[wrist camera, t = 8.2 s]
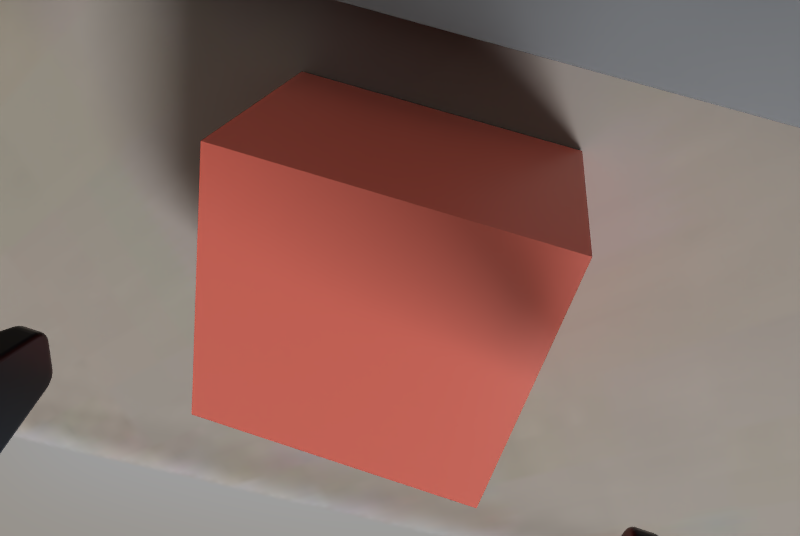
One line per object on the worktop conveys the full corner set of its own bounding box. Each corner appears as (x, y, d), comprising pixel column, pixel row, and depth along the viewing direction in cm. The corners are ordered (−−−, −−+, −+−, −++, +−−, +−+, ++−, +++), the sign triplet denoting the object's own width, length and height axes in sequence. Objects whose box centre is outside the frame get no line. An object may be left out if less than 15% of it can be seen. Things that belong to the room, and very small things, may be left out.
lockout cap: (581, 151, 13) (592, 256, 9) (495, 366, 16) (476, 507, 12) (301, 71, 13) (200, 141, 9) (274, 297, 17) (192, 413, 13)
